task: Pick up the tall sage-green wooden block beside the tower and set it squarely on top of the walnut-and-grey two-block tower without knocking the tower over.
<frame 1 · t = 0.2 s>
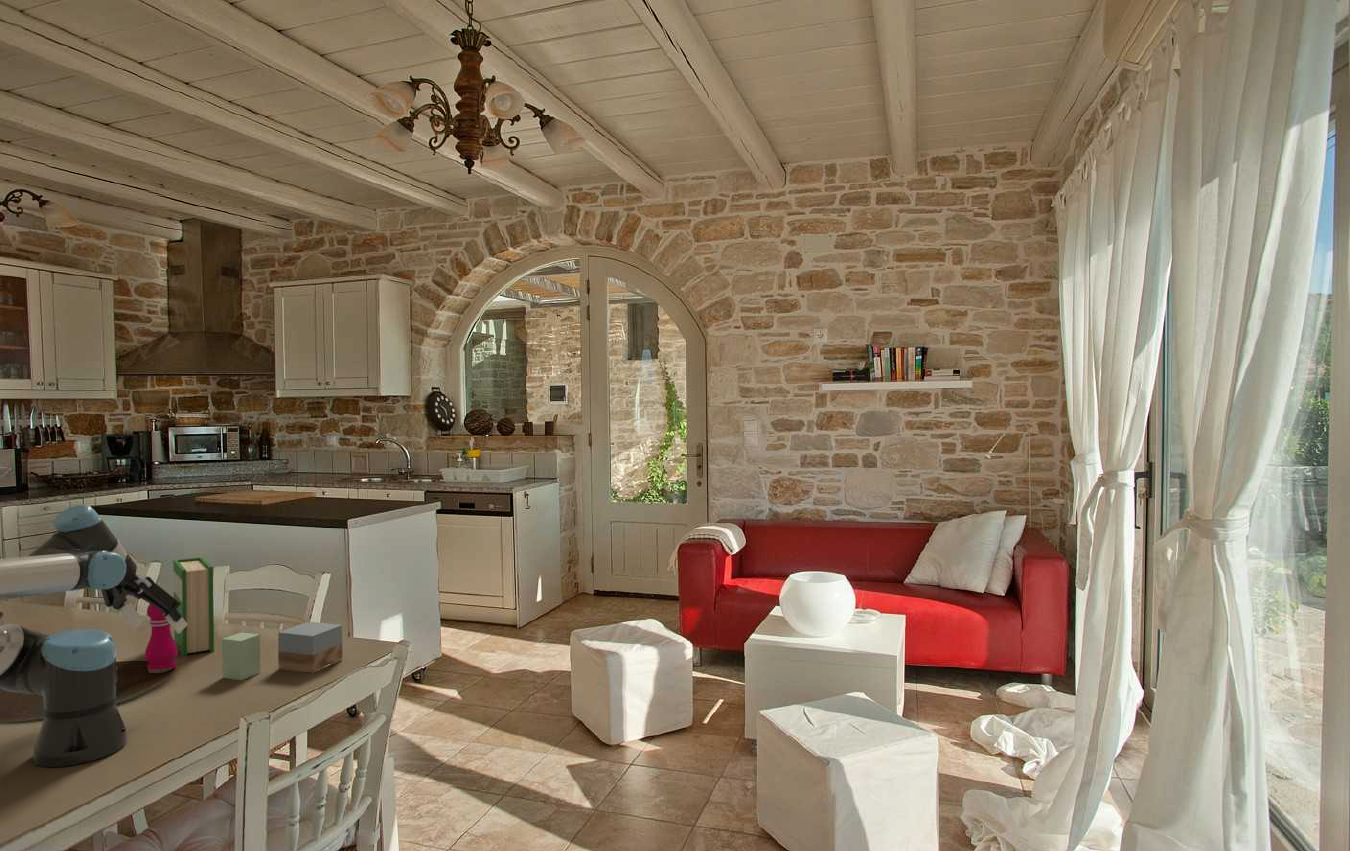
hand: (160, 626, 191), 16 cm above the table, tool tilted 35°, fingers open, 13 cm apart
tower bottom block: (310, 665, 213), on the table, touching tower top block
hardback book: (193, 647, 228), on the table
pepper mill: (161, 670, 208), on the table
sage block: (241, 675, 205), on the table
tower top block: (310, 647, 213), point 5 cm above the table, touching tower bottom block
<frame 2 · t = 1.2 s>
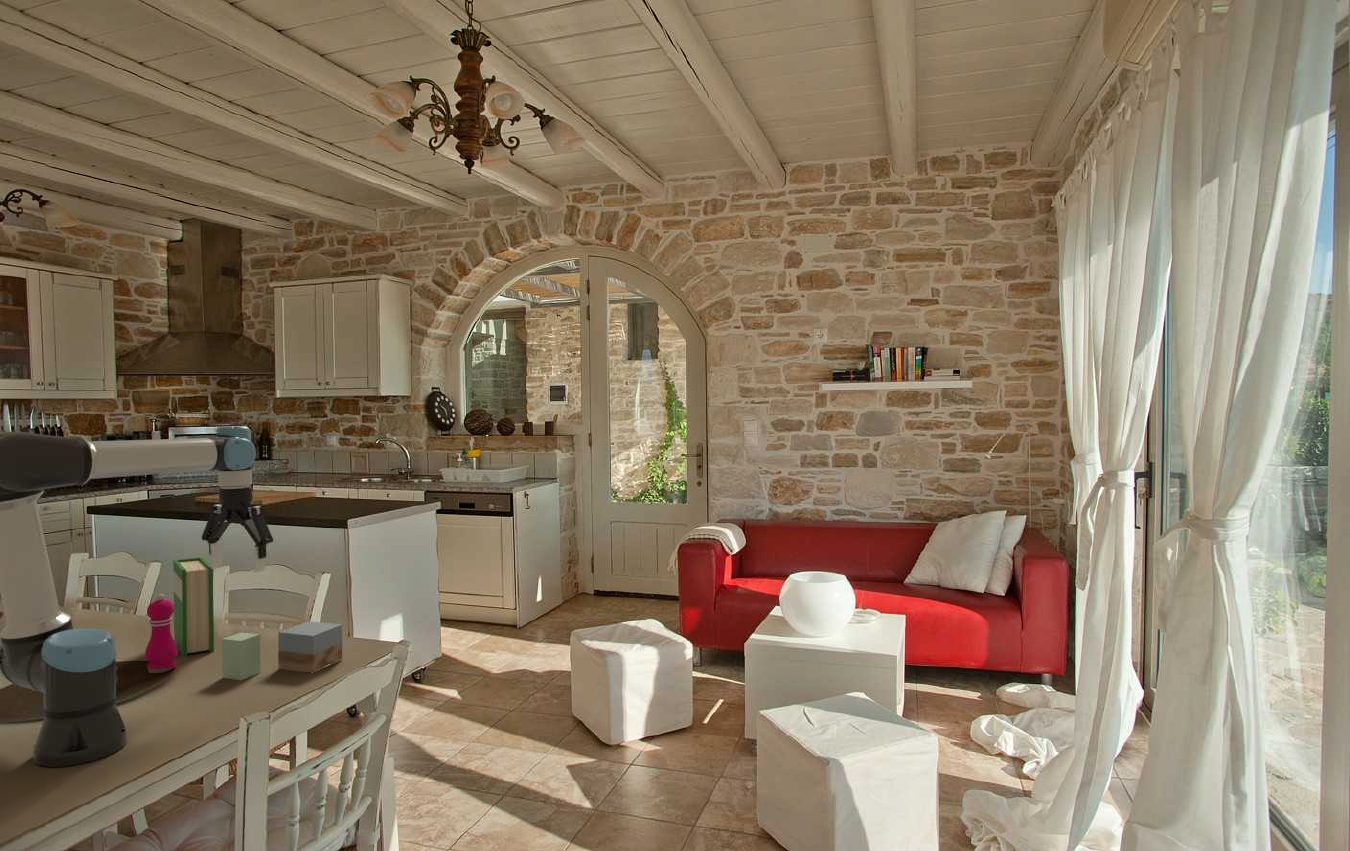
hand: (238, 569, 204), 27 cm above the table, tool pointing down, fingers open, 13 cm apart
nothing on the table moved.
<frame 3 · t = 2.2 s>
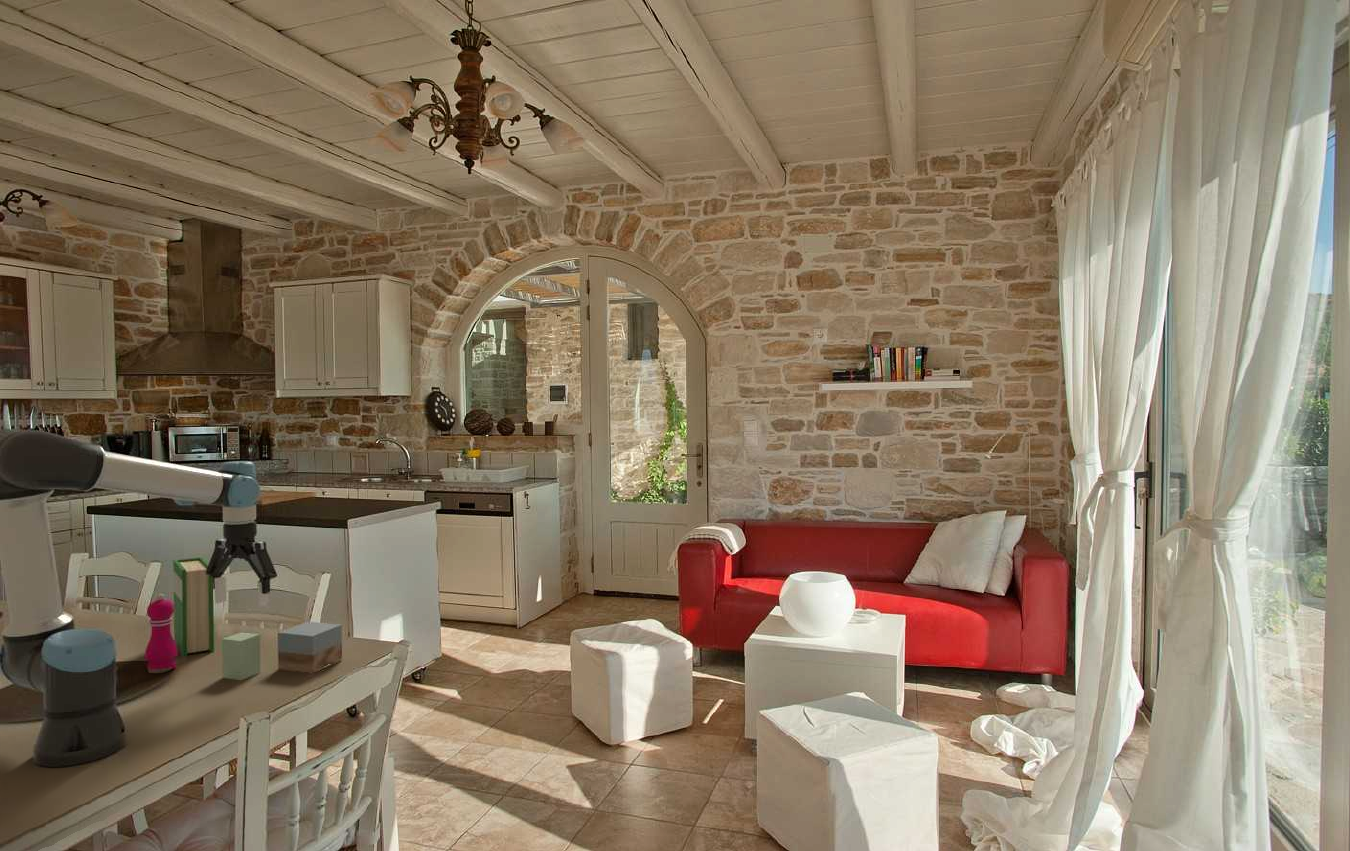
hand: (241, 604, 205), 18 cm above the table, tool pointing down, fingers open, 13 cm apart
nothing on the table moved.
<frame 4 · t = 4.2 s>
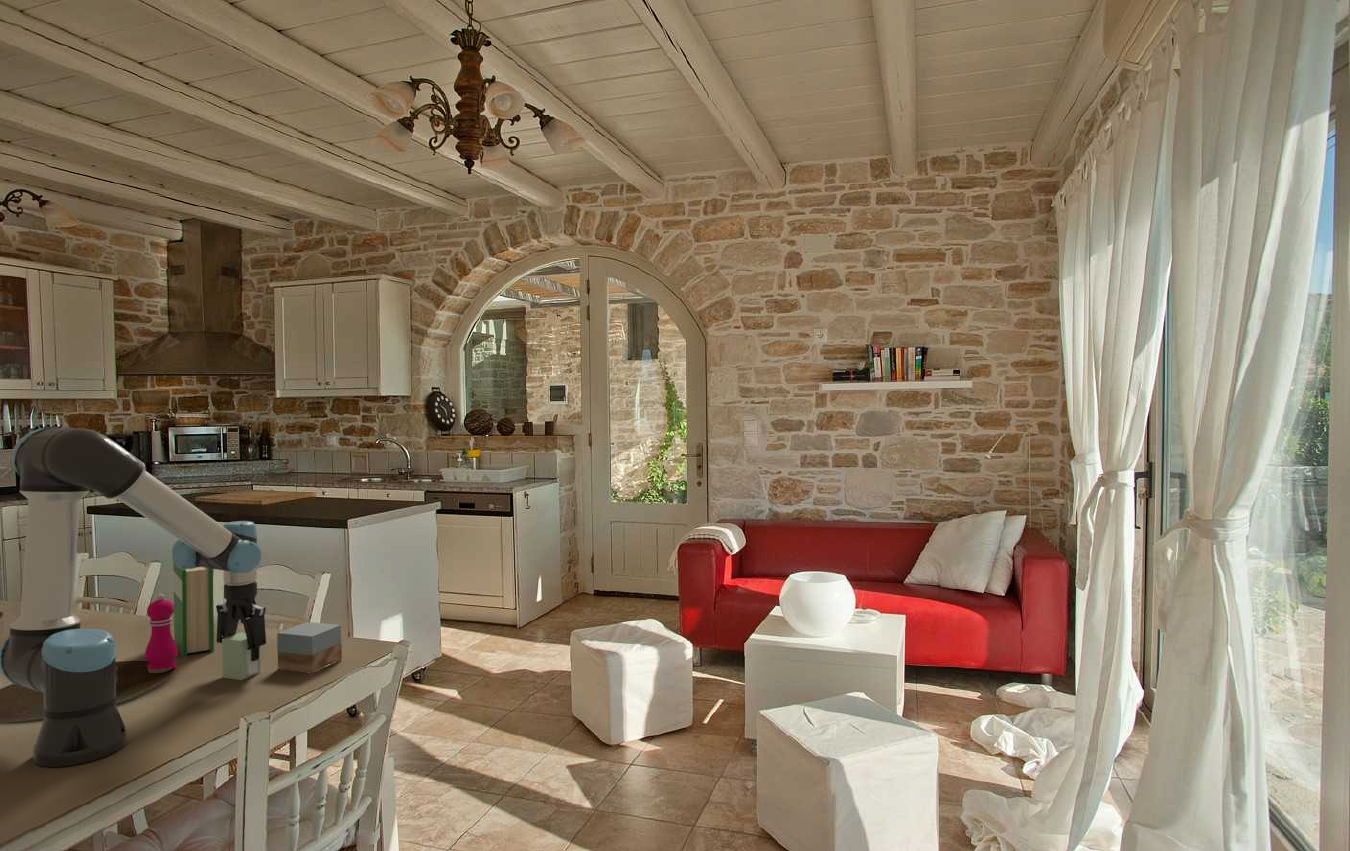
hand: (241, 671, 205), 1 cm above the table, tool pointing down, fingers closed on sage block, 6 cm apart
tower bottom block: (310, 666, 213), on the table
sage block: (241, 675, 205), on the table, touching gripper
tower top block: (309, 647, 213), point 5 cm above the table
everything else where it was.
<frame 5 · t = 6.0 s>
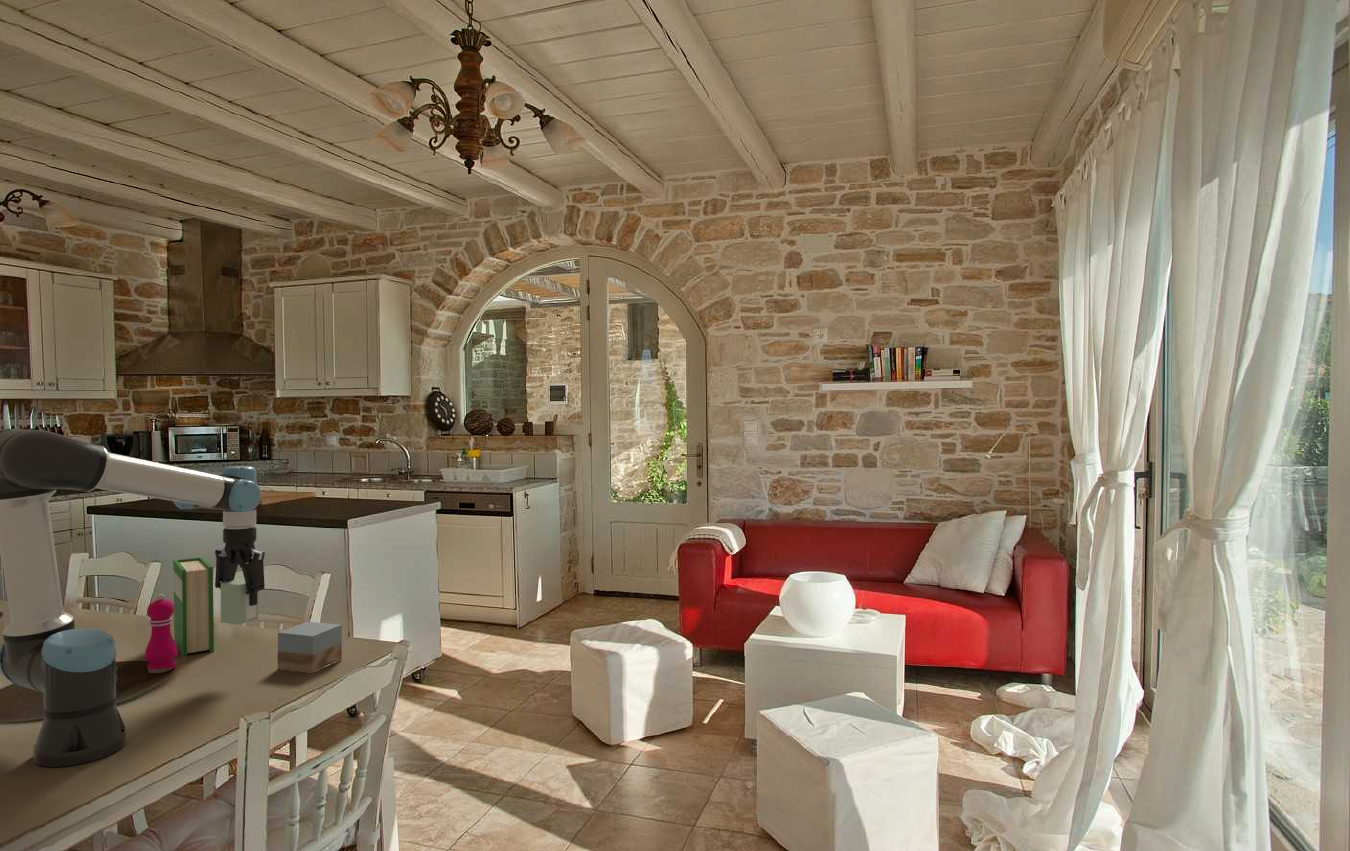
hand: (239, 616, 204), 15 cm above the table, tool pointing down, fingers closed on sage block, 6 cm apart
tower bottom block: (310, 666, 213), on the table, touching tower top block
sage block: (239, 620, 204), point 14 cm above the table, touching gripper
tower top block: (310, 647, 213), point 5 cm above the table, touching tower bottom block
everything else where it was.
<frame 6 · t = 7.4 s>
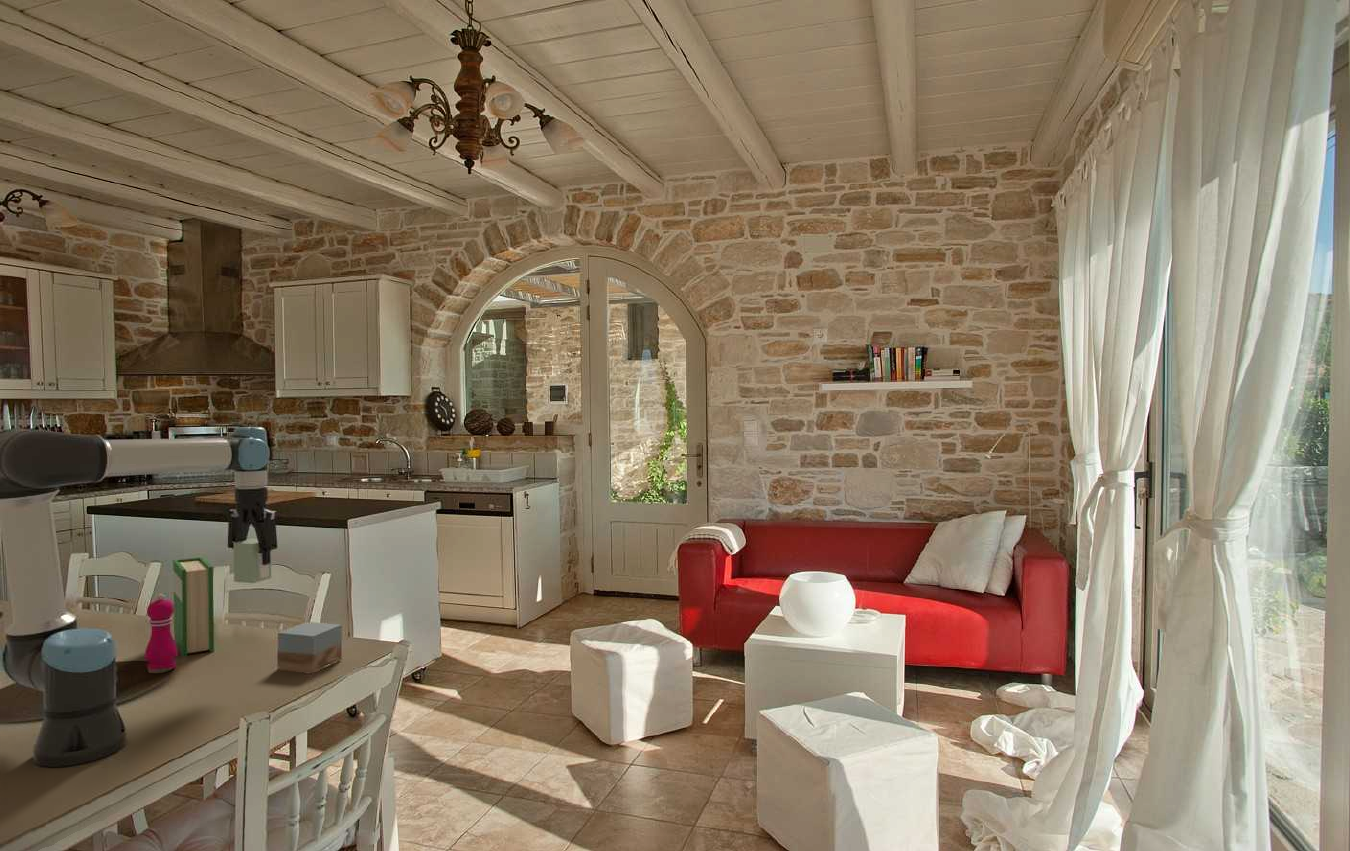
hand: (252, 576, 206), 25 cm above the table, tool pointing down, fingers closed on sage block, 6 cm apart
sage block: (252, 579, 206), point 24 cm above the table, touching gripper
everything else where it was.
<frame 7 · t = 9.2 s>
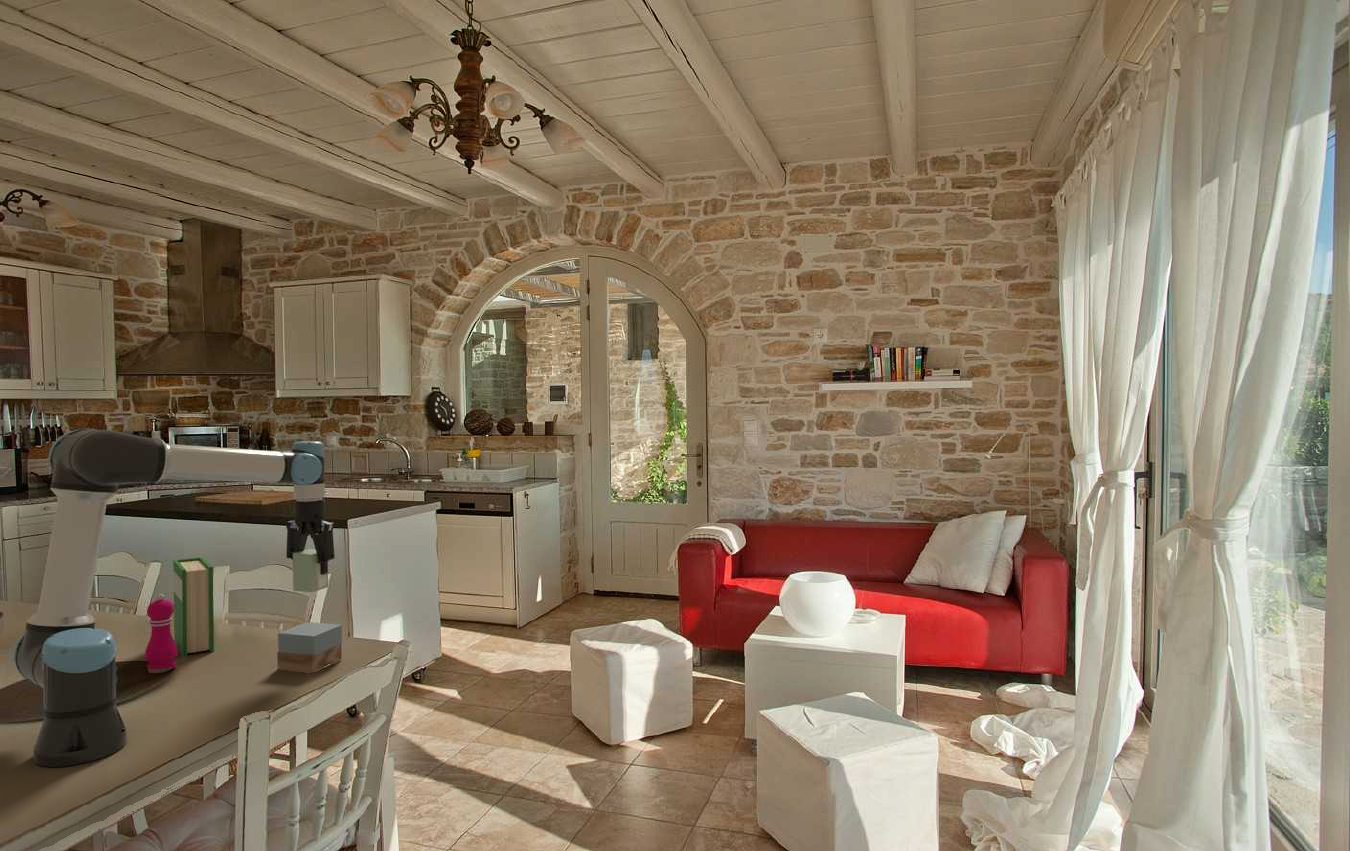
hand: (310, 585, 213), 21 cm above the table, tool pointing down, fingers closed on sage block, 6 cm apart
tower bottom block: (310, 666, 213), on the table
sage block: (311, 588, 213), point 20 cm above the table, touching gripper
tower top block: (310, 647, 213), point 5 cm above the table
everything else where it was.
when the fingers open (11 cm above the table, at t = 12.1 s): sage block stays where it is, resting on tower top block.
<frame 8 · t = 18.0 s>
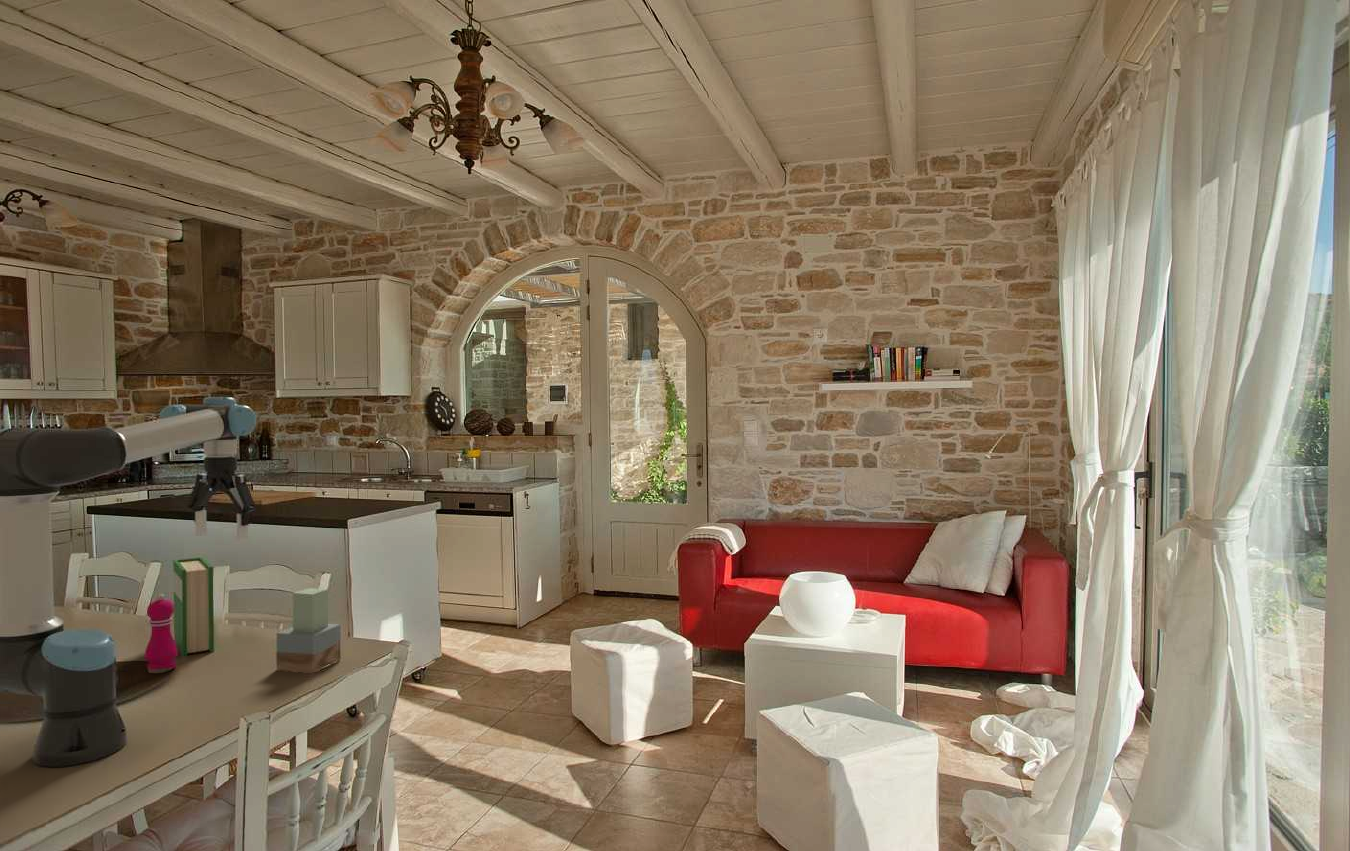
hand: (221, 536, 209), 35 cm above the table, tool pointing down, fingers open, 13 cm apart
tower bottom block: (309, 666, 213), on the table, touching tower top block
sage block: (310, 628, 213), point 10 cm above the table, touching tower top block
tower top block: (309, 647, 213), point 5 cm above the table, touching sage block, tower bottom block
everything else where it was.
at the end: sage block 0.6 cm off-centre on the tower bottom block, point 10.0 cm above the tower bottom block's base; tower top block 0.2 cm off-centre on the tower bottom block, point 5.0 cm above the tower bottom block's base; sage block tilted 0° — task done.
